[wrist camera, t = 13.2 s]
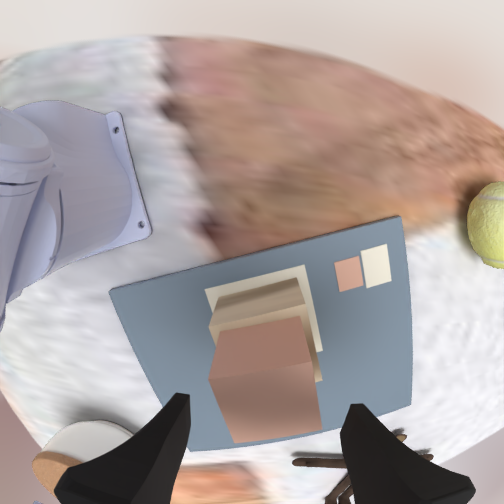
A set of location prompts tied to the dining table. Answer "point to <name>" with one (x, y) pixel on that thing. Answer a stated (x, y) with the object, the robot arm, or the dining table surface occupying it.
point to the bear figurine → (340, 463)
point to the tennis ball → (488, 224)
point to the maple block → (264, 312)
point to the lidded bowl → (76, 448)
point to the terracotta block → (265, 381)
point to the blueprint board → (320, 316)
